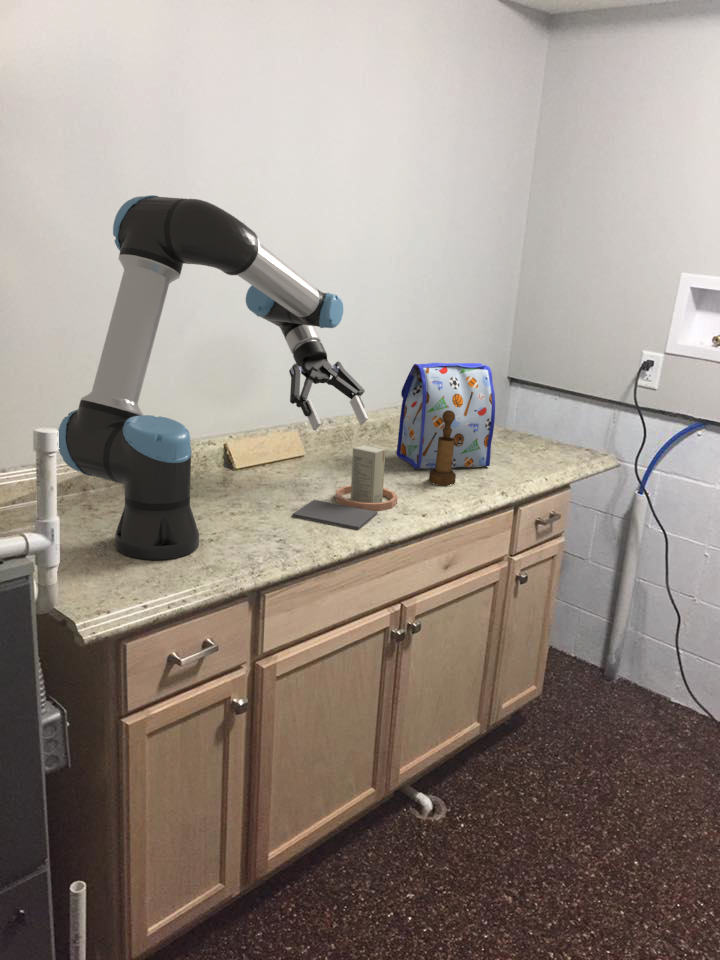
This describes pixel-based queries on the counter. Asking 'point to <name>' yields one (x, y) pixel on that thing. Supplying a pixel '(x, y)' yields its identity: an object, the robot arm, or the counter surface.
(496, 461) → the counter surface
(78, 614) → the counter surface
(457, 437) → the lunch bag
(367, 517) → the rubber mat
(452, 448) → the mortar and pestle
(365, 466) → the skincare box
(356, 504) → the pink polygonal ring
